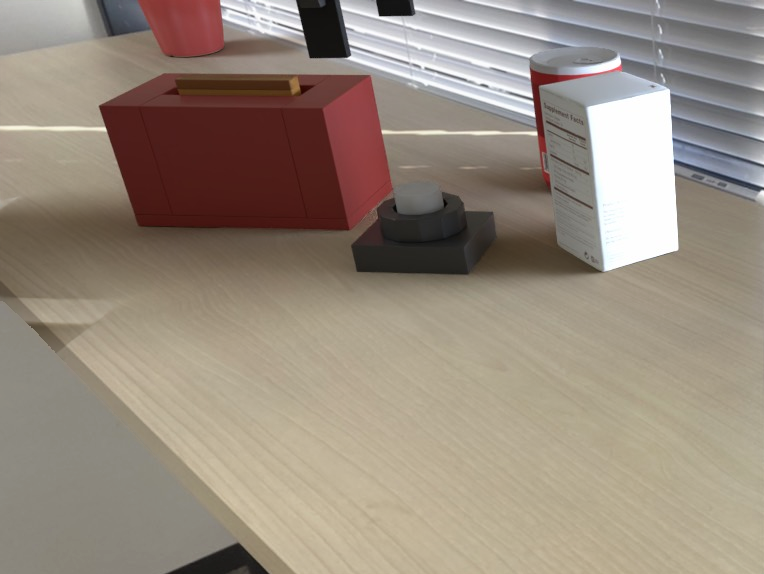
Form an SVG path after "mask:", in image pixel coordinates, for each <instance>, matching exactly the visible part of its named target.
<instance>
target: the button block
mask: <svg viewBox="0 0 764 574" xmlns="http://www.w3.org/2000/svg"><path fill="white" fill-rule="evenodd" d="M441 192H442V198H443V203H444V209H441V210H439V211H436V212H433V213H428V214H422V215H403V214H400V213H397V208H396V202H395V197H392V198H388V199H385V200H384V201H383V202H381V204H380V205H379V206H378V207H376V213H377V214H376V215H377V219H376V220H375V221H374V222H373V223H372V224H371V225H370V226H368V228H367V229H366V230H365V231H363V233H362V234H361V235H360V236H358V238H356V239H355V241H354V242H352V243H351V245H350V248H351V252H352V258H353V261H354V266H355V270H356V273H381V274H382V273H384V274H386V273H387V274H419V275H421V274H423V275H424V274H425V275H456V276H460V275H461V276H469V275H470V273H471V272H472V271H473V270H474V269H475V267H476V266H477V264H478V263H479V261H480V260H481V259H482V258H483V256H484V255H485V254H486V253H487V251H488V250H489V248H490V247H491V246H492V244H493V243H494V242H495V240H496V239H498V235H497V228H496V220H495V214H494V211H481V210H479V211H477V210H466V209H465V203H464V201H463V199H462V198H461V197H460V196H459V195H456V194H452V193H448V192H446V191H441Z"/></svg>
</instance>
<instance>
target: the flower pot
mask: <svg viewBox="0 0 764 574" xmlns="http://www.w3.org/2000/svg"><path fill="white" fill-rule="evenodd" d="M137 2H138V4H139V7H140V9H141V11H142V13H143V15H144V18H145V19H146V22H147V24H148V26H149V28H150V30H151V31H152V34H153V36H154V38H155V40H156V42H157V44H158V46H159V49H160V50H161V53H162V54H163V55H165V56H168V57H174V58H175V57H176V58H188V57H189V58H191V57H192V58H193V57H199V56H206V55H209V54H210V55H211V54H213V53H217V52H219V51H221V50H222V49H224V48H225V36H224V22H223V14H222V5H221V0H137Z"/></svg>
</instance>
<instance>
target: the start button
mask: <svg viewBox="0 0 764 574" xmlns="http://www.w3.org/2000/svg"><path fill="white" fill-rule="evenodd" d="M392 192H393V196H394V197H395V202H396V208H397V213H400V214H403V215H422V214H428V213H433V212H436V211H439V210H441V209H444V203H443V198H442V192H443V191H442V187H441V185H440V184H439V183H437V182H434V181H429V180H428V181H427V180H418V181H410V182H405V183H401V184H399V185H397V186H395V187H394V188H393V190H392ZM394 197H393V198H394Z"/></svg>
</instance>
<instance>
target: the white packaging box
mask: <svg viewBox="0 0 764 574" xmlns="http://www.w3.org/2000/svg"><path fill="white" fill-rule="evenodd" d="M539 92H540V100H541V109H542V117H543V125H544V134H545V142H546V150H547V157H548V167H549V175H550V184H551V189H550V191H551V199H552V210H553V217H554V225H555V235H556V242H557V245H558V246H559V247H560V248H561V249H562V250H564V251H566V252H567V253H569V254H570V255H572V256H574V257H576V258H578V259H579V260H581V261H582V262H584V263H586V264H588V265H589V266H591V267H593V268H595V269H596V270H598V271H600V272H602V273H606V272H609V271H612V270H615V269H618V268H622V267H625V266H628V265H631V264H635V263H638V262H639V263H640V262H642V261H646V260H650V259H652V258H656V257H659V256H662V255H665V254H666V255H667V254H670V253H673V252H677V251H679V237H678V221H677V220H678V219H677V204H676V203H677V202H676V185H675V167H674V166H675V165H674V164H675V163H674V150H673V131H672V129H673V128H672V116H671V115H672V114H671V93H670V89H669V88H667V87H666V86H664V85H662V84H659V83H656V82H655V81H651V80H648V79H645V78H643V77H639V76H637V75H634V74H631V73H628V72H625V71H623V70H622V71H619V70H616V71H612V72H607V73H602V74H597V75H593V76H588V77H583V78H578V79H572V80H567V81H562V82H557V83H552V84H547V85H541V86H539Z"/></svg>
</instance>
